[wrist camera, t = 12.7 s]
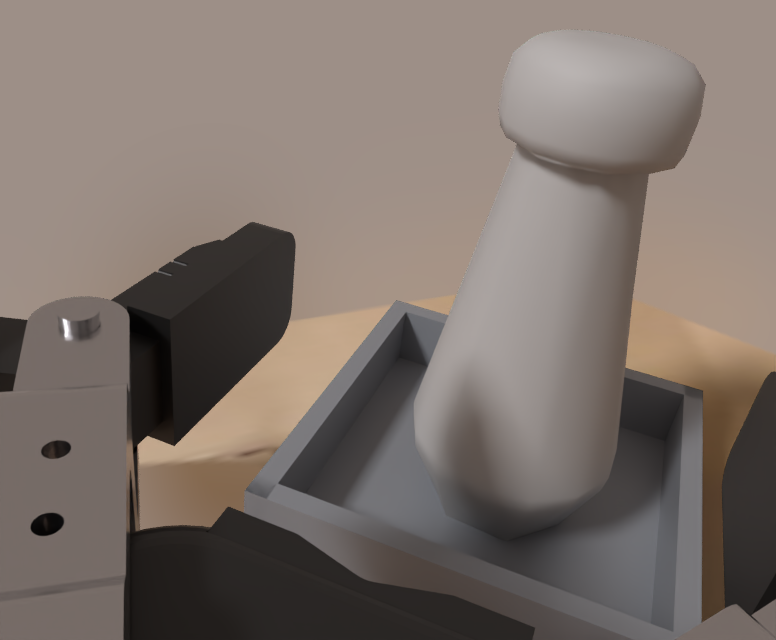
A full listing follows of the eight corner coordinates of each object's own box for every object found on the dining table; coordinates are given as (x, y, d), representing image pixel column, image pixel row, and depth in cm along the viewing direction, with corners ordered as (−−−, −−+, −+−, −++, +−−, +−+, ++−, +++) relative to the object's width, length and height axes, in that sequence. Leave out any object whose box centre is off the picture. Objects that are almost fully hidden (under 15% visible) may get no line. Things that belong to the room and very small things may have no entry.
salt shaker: (633, 533, 22) (823, 79, 15) (466, 592, 19) (602, 78, 12) (519, 412, 26) (626, 17, 19) (371, 446, 23) (433, 7, 17)
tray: (674, 458, 26) (702, 390, 25) (657, 743, 17) (701, 665, 16) (386, 366, 29) (396, 300, 27) (242, 571, 20) (245, 490, 18)
